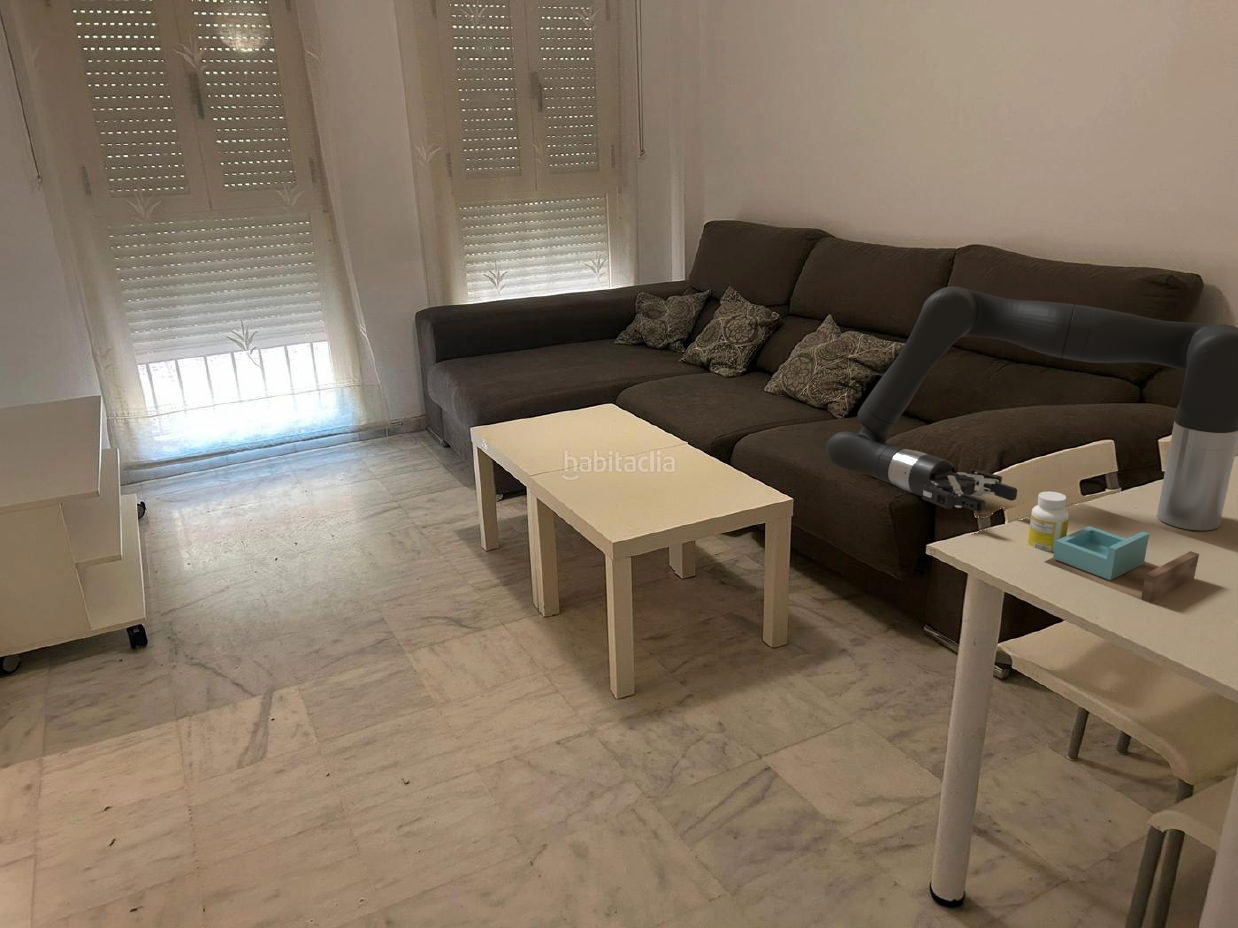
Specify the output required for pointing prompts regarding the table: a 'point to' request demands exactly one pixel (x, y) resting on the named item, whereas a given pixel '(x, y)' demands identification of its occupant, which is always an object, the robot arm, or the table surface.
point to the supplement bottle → (1048, 521)
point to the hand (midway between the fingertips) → (999, 500)
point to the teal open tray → (1102, 551)
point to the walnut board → (1144, 577)
